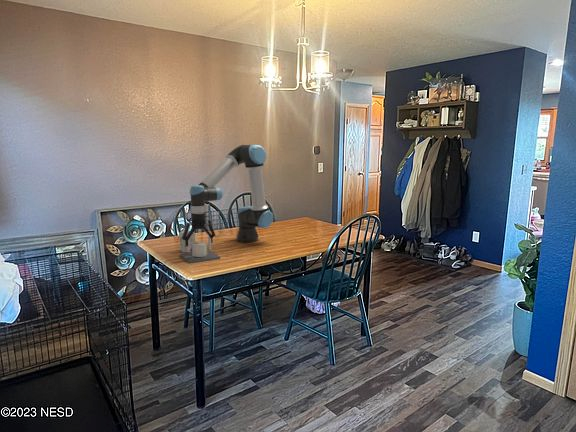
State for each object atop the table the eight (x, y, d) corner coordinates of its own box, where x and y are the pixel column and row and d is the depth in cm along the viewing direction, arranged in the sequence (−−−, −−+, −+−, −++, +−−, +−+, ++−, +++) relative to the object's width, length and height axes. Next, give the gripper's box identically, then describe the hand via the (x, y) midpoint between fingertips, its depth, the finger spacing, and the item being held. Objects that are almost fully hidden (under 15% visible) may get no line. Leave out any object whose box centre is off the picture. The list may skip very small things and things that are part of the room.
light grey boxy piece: (203, 252, 231) (203, 240, 230) (208, 255, 224) (208, 243, 223) (190, 254, 227) (190, 241, 226) (195, 257, 220) (195, 244, 219)
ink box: (191, 248, 246) (190, 230, 244) (196, 249, 242) (195, 231, 240) (179, 250, 240) (178, 232, 238) (183, 252, 236) (183, 233, 234)
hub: (209, 251, 238) (208, 241, 237) (220, 258, 223) (220, 248, 222) (179, 255, 229) (179, 245, 228) (189, 263, 213) (188, 252, 212)
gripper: (215, 210, 231) (216, 246, 234) (174, 213, 218) (176, 251, 222) (220, 212, 224) (221, 248, 228) (178, 215, 212) (180, 254, 216)
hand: (199, 250), depth 225 cm, fingers open, 12 cm apart
